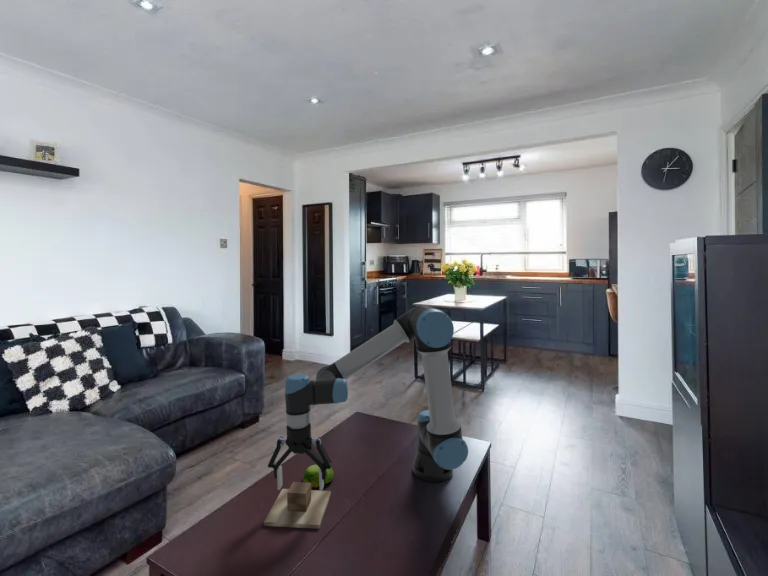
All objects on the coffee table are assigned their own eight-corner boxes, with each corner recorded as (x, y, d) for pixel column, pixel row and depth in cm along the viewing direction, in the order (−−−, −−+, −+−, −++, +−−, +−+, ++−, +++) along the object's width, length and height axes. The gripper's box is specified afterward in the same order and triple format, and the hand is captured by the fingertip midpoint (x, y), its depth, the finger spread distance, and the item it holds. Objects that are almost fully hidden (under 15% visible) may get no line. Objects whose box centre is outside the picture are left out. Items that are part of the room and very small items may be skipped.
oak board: (331, 494, 133) (331, 491, 133) (319, 528, 116) (319, 524, 116) (282, 492, 134) (282, 488, 134) (263, 525, 117) (263, 521, 117)
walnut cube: (311, 500, 128) (311, 482, 127) (306, 512, 122) (305, 493, 122) (293, 499, 128) (293, 481, 128) (287, 511, 122) (287, 492, 122)
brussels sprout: (327, 490, 136) (327, 476, 135) (298, 487, 138) (298, 473, 137) (337, 473, 147) (337, 460, 147) (310, 470, 149) (310, 457, 149)
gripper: (339, 419, 126) (341, 482, 128) (264, 418, 128) (267, 480, 129) (335, 429, 119) (337, 496, 120) (255, 428, 120) (258, 494, 122)
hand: (300, 488), depth 125 cm, fingers open, 13 cm apart
